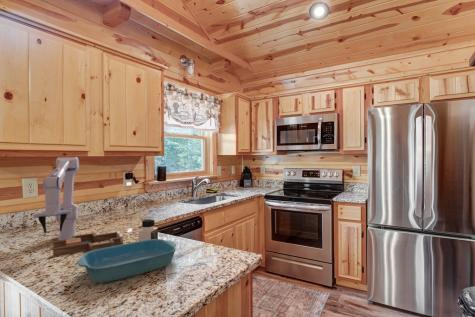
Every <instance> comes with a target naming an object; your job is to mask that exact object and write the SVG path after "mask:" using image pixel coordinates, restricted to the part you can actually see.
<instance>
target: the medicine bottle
mask: <svg viewBox="0 0 475 317" xmlns="http://www.w3.org/2000/svg"><path fill="white" fill-rule="evenodd" d="M155 223H156V222H155V219H153V218H145V219H143V220H142V221H141V229H139V230H138V231H137V232H138V233H137V234H138V238H137V240H138V241H144V240H150V239H159V227H155ZM138 241H137V242H138Z"/></svg>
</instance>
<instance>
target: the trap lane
mask: <svg viewBox="0 0 475 317" xmlns="http://www.w3.org/2000/svg"><path fill="white" fill-rule="evenodd" d="M75 238H81V244H76V245H70V246H66V240H69V239H66V240H60V241H59V240H55V241H53V242H52V243H53V246H52V247H53V249H52V256H60V255H66V254H71V253H76V252H77V253H78V252H82V251H87V250H88V252H90V251H93V250H97V249H102V248H107V247H112V246H117V245H122V244H123V243H124V235H123V234H122V233H121V232H120V231H119V230H116V231H115V232H114V231H113V232H107V233H106V232H105V233H100V234H96V232H90V233H84V234H76V236H72V239H75ZM107 240H108V241H107ZM100 241H101V243H96V242H100ZM102 241H107V242H102ZM93 243H96V244H93Z"/></svg>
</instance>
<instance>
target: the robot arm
mask: <svg viewBox="0 0 475 317" xmlns="http://www.w3.org/2000/svg"><path fill="white" fill-rule="evenodd" d="M55 167H56V168H54V169H52V171H51V172H50V174H49V175H48V176H47V177H44V178H43V180H42V188H43V194H44V199H45V200H44V204H45V207H44V208H45V211H43V212H35V213H32V218H33V219H38V222H40V225H41V226H42V230H43V233H44V234H47V224H46V222H47V219H46V218H47V217H55V221H56V222H57V223H58V224H59V225H58V227H59V228H58V229H59V230H58V231H59V235H58V241H61V240H68V239H72V236H77V234H76V221H77V220H78V219H79V216H80V213H79V206H78V205H77V204H75V203H74V189H75V188H74V186H75V177H76V174H77V173H79V169H80V158H78V157H77V156H75V157H71V156H70V157H65V156H64V157H60V156H58V157H57V158H56V160H55ZM62 187H63V189H62ZM61 189H62V190H63V193H62V194H63V195H62V203H61Z"/></svg>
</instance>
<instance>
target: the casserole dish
mask: <svg viewBox="0 0 475 317" xmlns="http://www.w3.org/2000/svg"><path fill="white" fill-rule="evenodd" d="M176 245H177V243H175V242H174V241H172V240H168V239H167V240H166V239H162V238H158V239H150V240H144V241H135V242H129V243H127V242H126V243H124V244H123V243H121V244H116V245H114V246H112V247H107V248H102V249H97V250H93V251H90V252H89V251H88V252H85V253H84V254H82V256H81V257H80V258H78V259H77V261H76V264H77V266H79V267H80V268H85V270H86V272H87V275H88V276H89V278H90V279H91V280H92V281H94V282H95V283H99V284H104V283H103V282H105V283H110V281H111V282H114V280H115V281H118V279H119V280H123V279H127V278H131V277H133V275H134V276H137V275H141V273H142V274H145V273H144V272H146V273H149V272H152V270H153V271H155V269H156V270H159V269H161V268H162V267H163V268H165V267H166V266H168V265H170V264H171V262H172V260H173V258H174V255H175V253H176ZM164 266H165V267H164ZM158 268H159V269H158ZM148 271H149V272H148ZM130 276H131V277H130ZM126 277H127V278H126ZM122 278H123V279H122Z"/></svg>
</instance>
